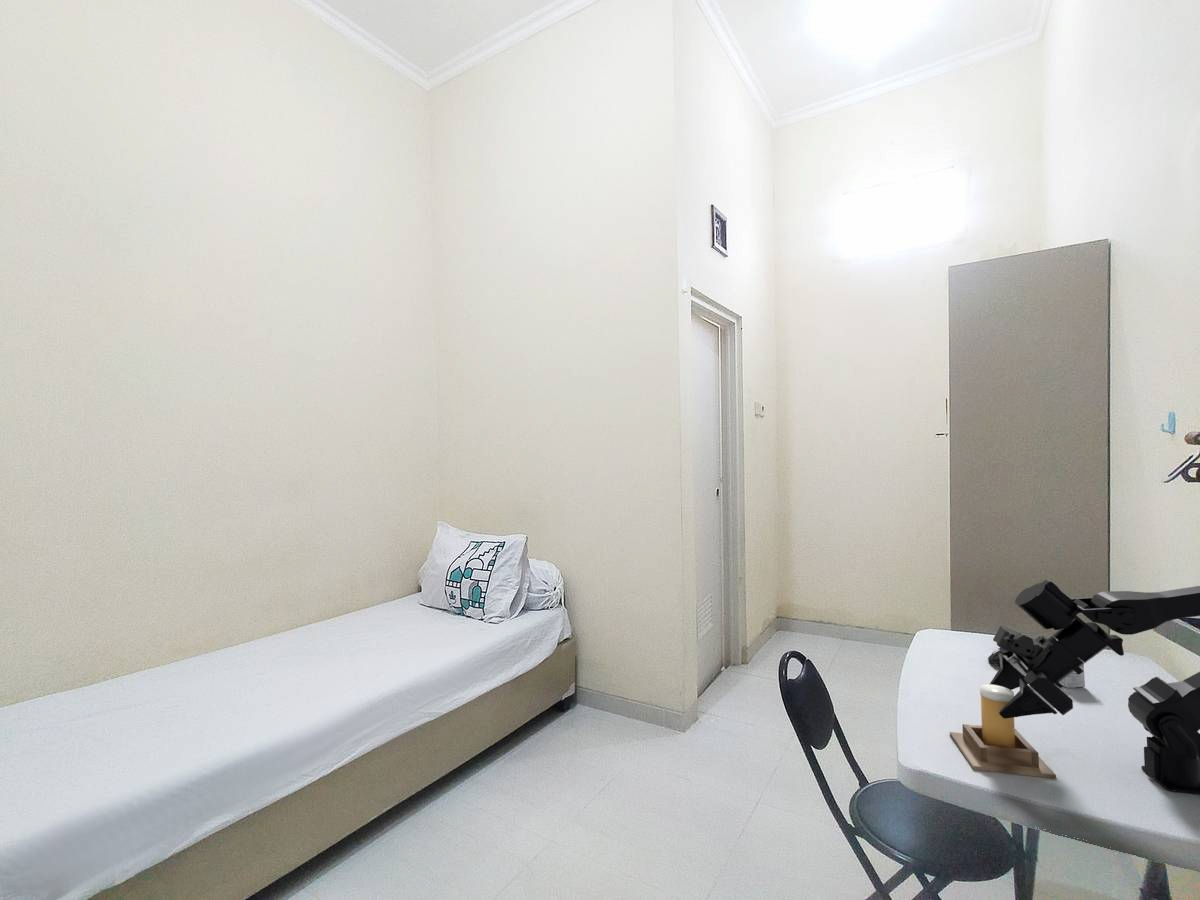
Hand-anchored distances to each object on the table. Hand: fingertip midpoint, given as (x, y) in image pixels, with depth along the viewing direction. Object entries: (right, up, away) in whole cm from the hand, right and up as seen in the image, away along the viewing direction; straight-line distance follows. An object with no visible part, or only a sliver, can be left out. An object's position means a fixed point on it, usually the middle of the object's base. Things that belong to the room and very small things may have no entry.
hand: (993, 704), depth 99 cm
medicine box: (+37, -9, +30) cm, 49 cm away
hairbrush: (+37, -9, +46) cm, 60 cm away
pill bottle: (+1, -8, 0) cm, 8 cm away
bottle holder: (+1, -9, 0) cm, 9 cm away
